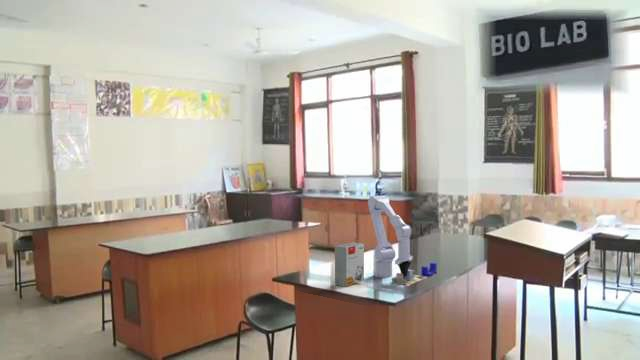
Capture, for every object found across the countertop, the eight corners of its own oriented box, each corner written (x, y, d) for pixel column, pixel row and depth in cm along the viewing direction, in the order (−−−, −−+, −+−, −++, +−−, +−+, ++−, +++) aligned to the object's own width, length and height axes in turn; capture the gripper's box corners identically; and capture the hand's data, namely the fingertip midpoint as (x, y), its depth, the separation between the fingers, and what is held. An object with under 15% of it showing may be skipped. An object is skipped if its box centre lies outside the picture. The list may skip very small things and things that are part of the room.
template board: (407, 287, 245) (407, 275, 245) (390, 284, 252) (390, 273, 251) (428, 278, 262) (428, 267, 262) (411, 276, 269) (411, 265, 268)
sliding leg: (412, 281, 254) (412, 271, 253) (404, 279, 256) (404, 270, 256) (415, 280, 256) (415, 270, 256) (407, 278, 259) (407, 269, 259)
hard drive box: (346, 287, 248) (345, 247, 247) (334, 285, 253) (333, 246, 252) (364, 281, 260) (364, 243, 259) (353, 279, 265) (352, 241, 264)
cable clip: (429, 279, 263) (429, 267, 262) (421, 277, 265) (421, 266, 265) (439, 274, 272) (439, 263, 272) (431, 273, 275) (431, 262, 275)
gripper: (403, 252, 244) (404, 280, 245) (417, 248, 256) (418, 274, 256) (391, 251, 249) (391, 278, 249) (405, 246, 260) (405, 272, 261)
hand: (404, 276), depth 253 cm, fingers closed
